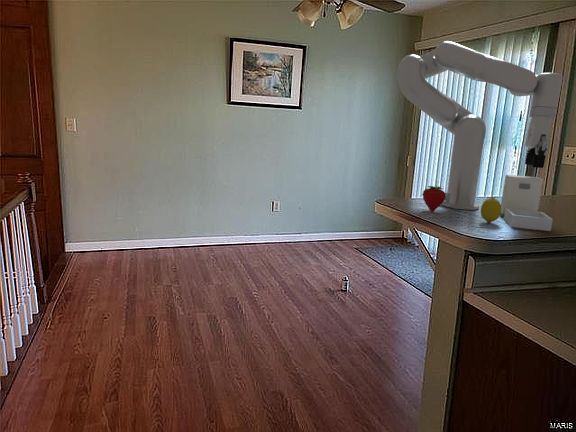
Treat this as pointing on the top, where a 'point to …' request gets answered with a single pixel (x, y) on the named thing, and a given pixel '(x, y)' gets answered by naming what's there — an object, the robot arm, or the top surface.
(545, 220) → the tray
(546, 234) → the top surface
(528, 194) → the block
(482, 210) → the lemon
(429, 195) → the strawberry
